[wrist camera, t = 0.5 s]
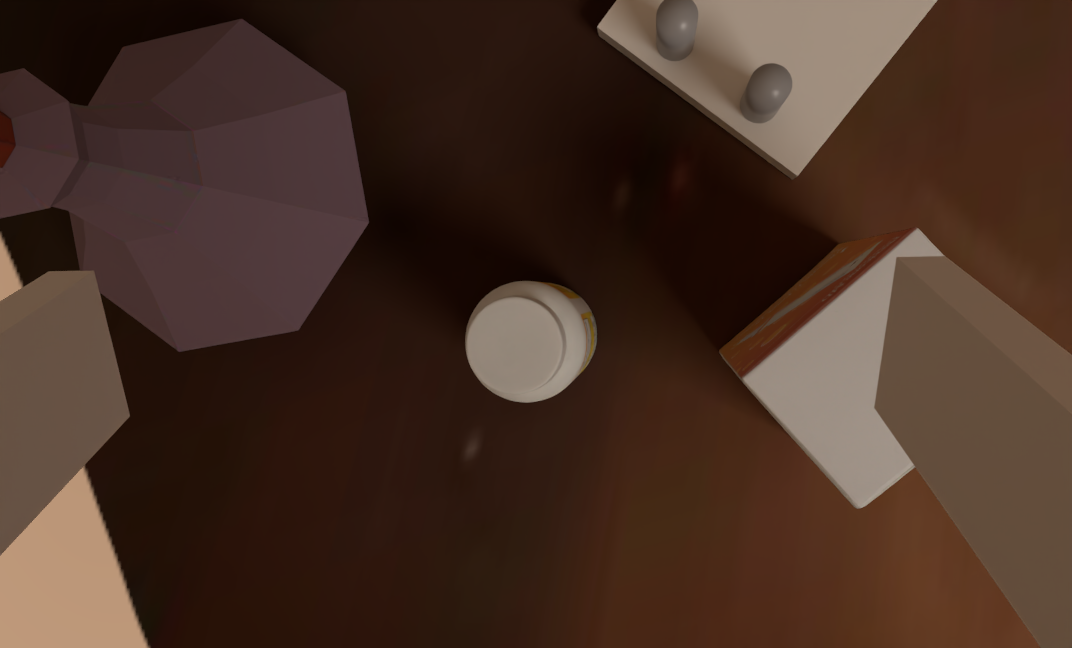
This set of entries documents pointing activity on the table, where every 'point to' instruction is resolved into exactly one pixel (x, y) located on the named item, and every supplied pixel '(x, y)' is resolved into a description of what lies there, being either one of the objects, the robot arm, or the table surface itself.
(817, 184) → the table surface
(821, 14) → the pin tray
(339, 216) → the flask
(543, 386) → the supplement bottle
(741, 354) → the small box
